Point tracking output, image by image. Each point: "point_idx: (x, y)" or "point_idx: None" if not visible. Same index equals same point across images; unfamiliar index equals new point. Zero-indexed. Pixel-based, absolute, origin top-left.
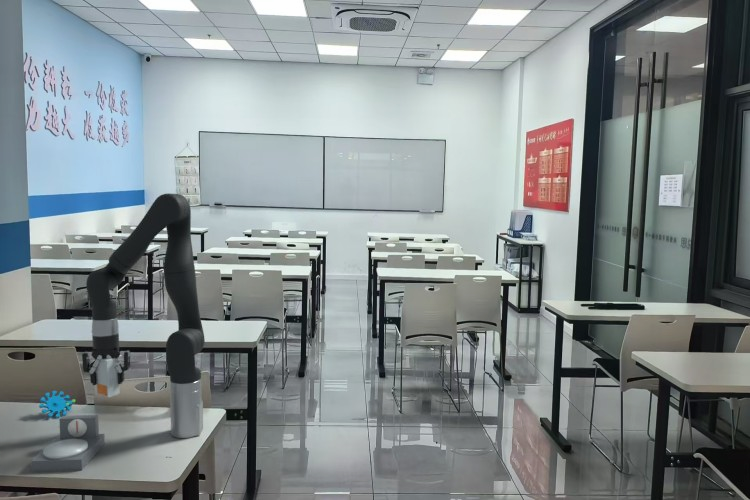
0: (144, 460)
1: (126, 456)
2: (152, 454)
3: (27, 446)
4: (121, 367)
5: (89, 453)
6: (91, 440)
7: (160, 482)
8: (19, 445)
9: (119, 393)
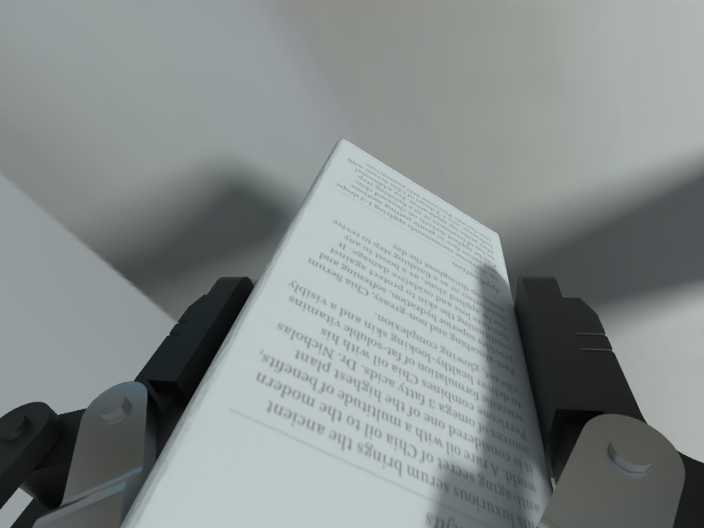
0: (638, 384)
1: None
2: (670, 354)
3: (182, 276)
4: (624, 515)
5: None
6: None
7: None
8: (150, 269)
9: (499, 239)
